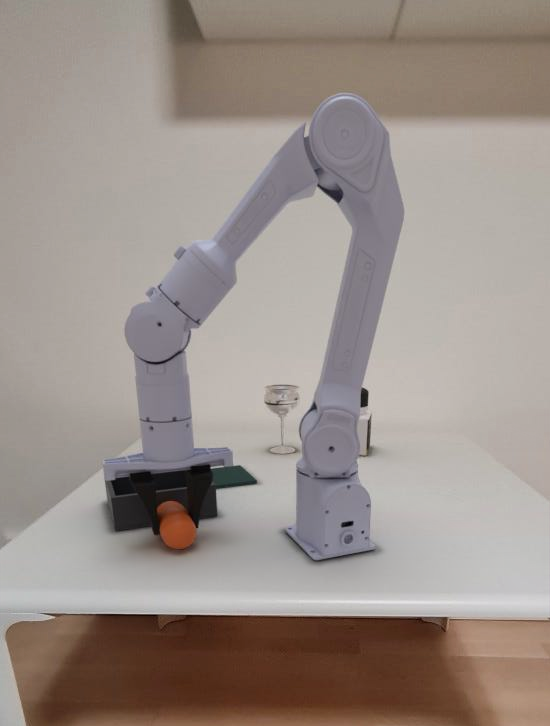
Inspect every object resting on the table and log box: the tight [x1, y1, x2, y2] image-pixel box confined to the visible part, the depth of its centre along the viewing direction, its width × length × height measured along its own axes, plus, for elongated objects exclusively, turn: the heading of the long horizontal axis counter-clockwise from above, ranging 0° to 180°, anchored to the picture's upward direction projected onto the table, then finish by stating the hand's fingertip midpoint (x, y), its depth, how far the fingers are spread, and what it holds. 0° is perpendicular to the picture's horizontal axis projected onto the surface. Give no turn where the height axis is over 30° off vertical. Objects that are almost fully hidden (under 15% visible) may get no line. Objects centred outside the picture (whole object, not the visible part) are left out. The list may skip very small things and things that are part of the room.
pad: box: [211, 464, 258, 489], centre depth 88 cm, size 9×10×1 cm
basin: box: [103, 470, 218, 532], centre depth 75 cm, size 11×13×4 cm
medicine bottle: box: [357, 386, 373, 457], centre depth 103 cm, size 7×7×12 cm
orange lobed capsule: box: [157, 501, 197, 550], centre depth 65 cm, size 9×4×4 cm, turn 23°
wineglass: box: [263, 384, 301, 455], centre depth 103 cm, size 7×7×12 cm
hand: (175, 528), depth 66 cm, fingers closed on orange lobed capsule, 4 cm apart
